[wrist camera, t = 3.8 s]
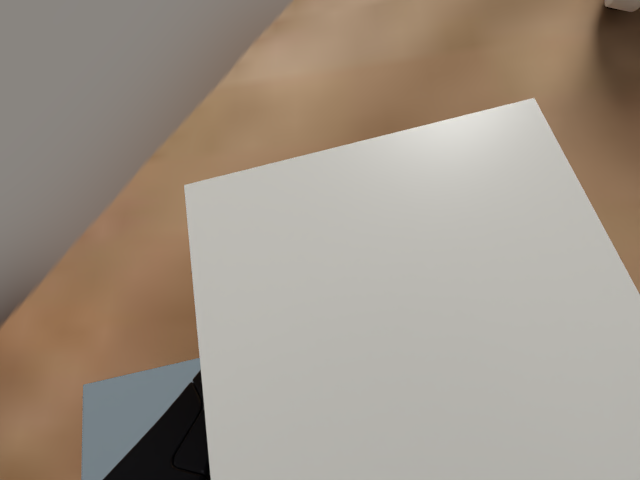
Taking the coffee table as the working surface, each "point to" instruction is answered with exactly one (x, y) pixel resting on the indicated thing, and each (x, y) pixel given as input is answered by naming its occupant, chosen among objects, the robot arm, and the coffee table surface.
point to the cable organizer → (623, 4)
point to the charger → (415, 312)
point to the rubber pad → (127, 412)
